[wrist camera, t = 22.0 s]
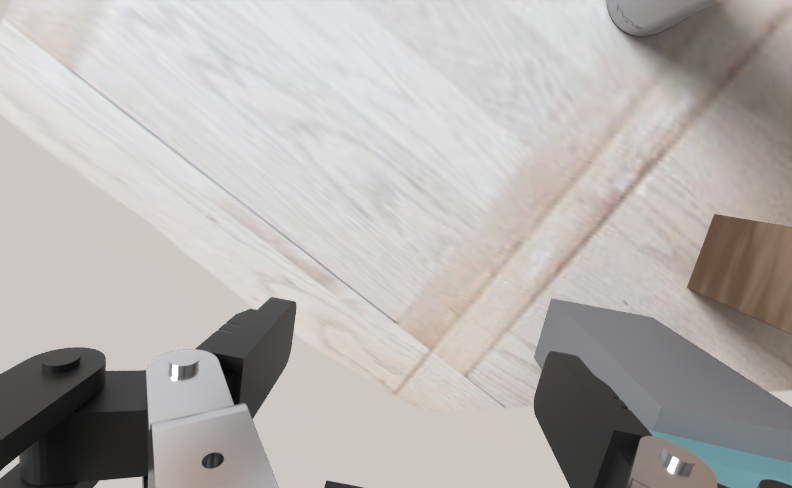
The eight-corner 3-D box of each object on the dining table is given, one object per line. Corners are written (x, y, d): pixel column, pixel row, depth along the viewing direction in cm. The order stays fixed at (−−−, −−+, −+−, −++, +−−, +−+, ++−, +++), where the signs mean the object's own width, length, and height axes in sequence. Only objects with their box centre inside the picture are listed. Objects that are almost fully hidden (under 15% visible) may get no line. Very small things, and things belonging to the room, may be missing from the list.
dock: (534, 357, 52) (624, 502, 30) (551, 298, 50) (661, 406, 28) (631, 375, 52) (795, 535, 30) (652, 317, 50) (844, 441, 28)
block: (555, 455, 29) (568, 480, 27) (572, 412, 28) (586, 434, 26) (825, 516, 29) (860, 547, 27) (849, 475, 29) (888, 503, 26)
